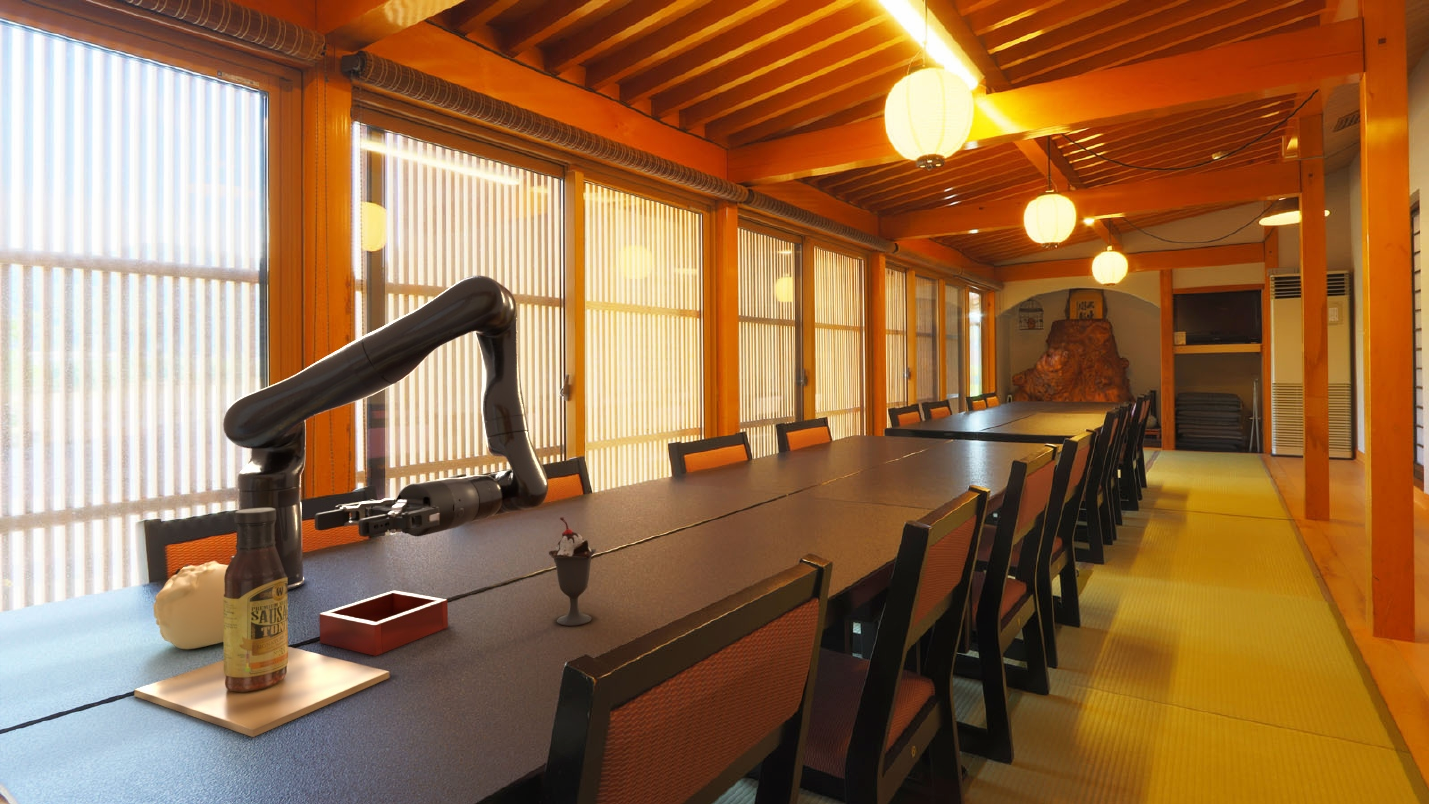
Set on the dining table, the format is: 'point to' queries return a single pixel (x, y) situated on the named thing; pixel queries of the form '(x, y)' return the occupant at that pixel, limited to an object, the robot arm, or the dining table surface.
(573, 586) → the sundae
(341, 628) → the holder
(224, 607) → the sauce bottle
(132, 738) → the dining table surface
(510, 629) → the dining table surface
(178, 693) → the mat
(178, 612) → the tan rounded lump
